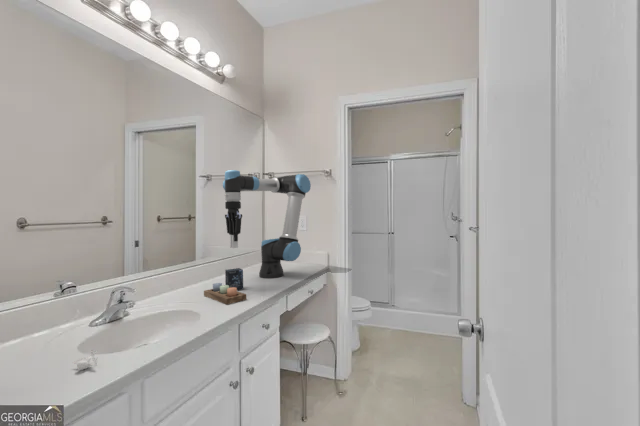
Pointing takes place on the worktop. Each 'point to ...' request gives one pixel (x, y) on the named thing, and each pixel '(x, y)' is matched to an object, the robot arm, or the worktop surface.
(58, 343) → the worktop surface
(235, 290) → the plunger terracotta
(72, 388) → the worktop surface
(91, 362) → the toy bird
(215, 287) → the plunger slate
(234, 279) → the box
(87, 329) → the worktop surface
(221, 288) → the plunger sage
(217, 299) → the wooden tray
